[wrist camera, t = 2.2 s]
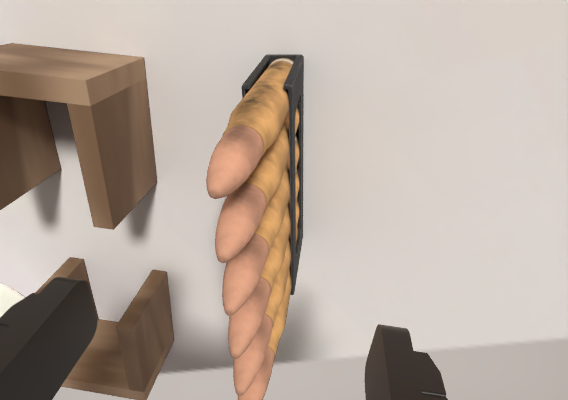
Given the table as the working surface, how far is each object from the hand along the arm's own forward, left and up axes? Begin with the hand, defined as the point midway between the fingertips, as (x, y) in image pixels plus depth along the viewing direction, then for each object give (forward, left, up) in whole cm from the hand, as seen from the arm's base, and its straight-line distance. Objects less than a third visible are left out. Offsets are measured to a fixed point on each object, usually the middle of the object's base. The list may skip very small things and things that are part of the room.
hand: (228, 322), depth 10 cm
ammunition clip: (0, 0, -12) cm, 12 cm away
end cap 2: (+11, +13, -12) cm, 21 cm away
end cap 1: (+11, -1, -12) cm, 16 cm away
